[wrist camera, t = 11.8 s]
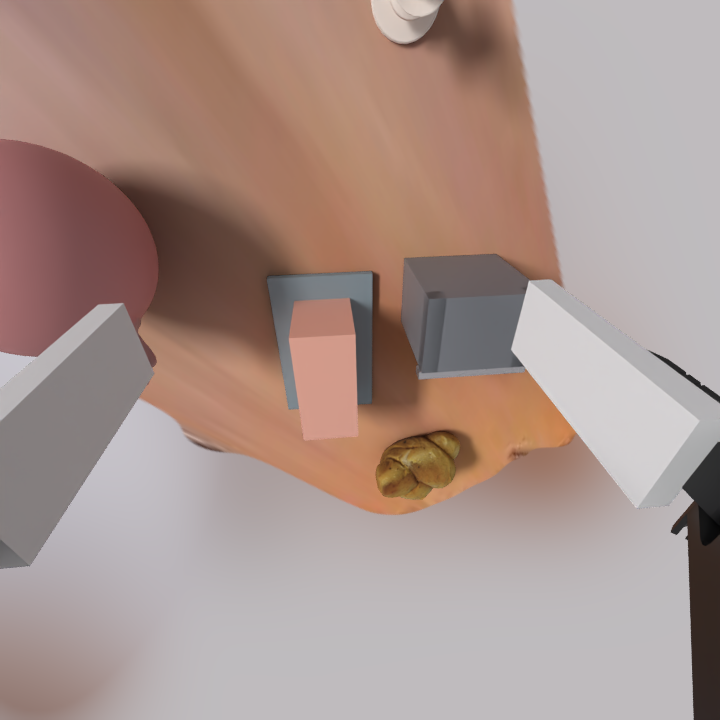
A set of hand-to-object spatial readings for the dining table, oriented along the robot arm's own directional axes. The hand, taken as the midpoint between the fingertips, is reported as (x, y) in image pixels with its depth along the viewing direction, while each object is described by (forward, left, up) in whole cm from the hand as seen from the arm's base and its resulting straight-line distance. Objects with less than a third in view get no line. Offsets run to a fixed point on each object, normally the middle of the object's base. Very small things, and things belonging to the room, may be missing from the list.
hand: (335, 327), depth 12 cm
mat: (+17, -1, -26) cm, 31 cm away
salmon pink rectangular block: (+17, -1, -25) cm, 31 cm away
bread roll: (+37, +11, -27) cm, 47 cm away
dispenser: (+10, +13, -26) cm, 31 cm away
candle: (-13, +7, -26) cm, 30 cm away
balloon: (+5, -21, -26) cm, 34 cm away
